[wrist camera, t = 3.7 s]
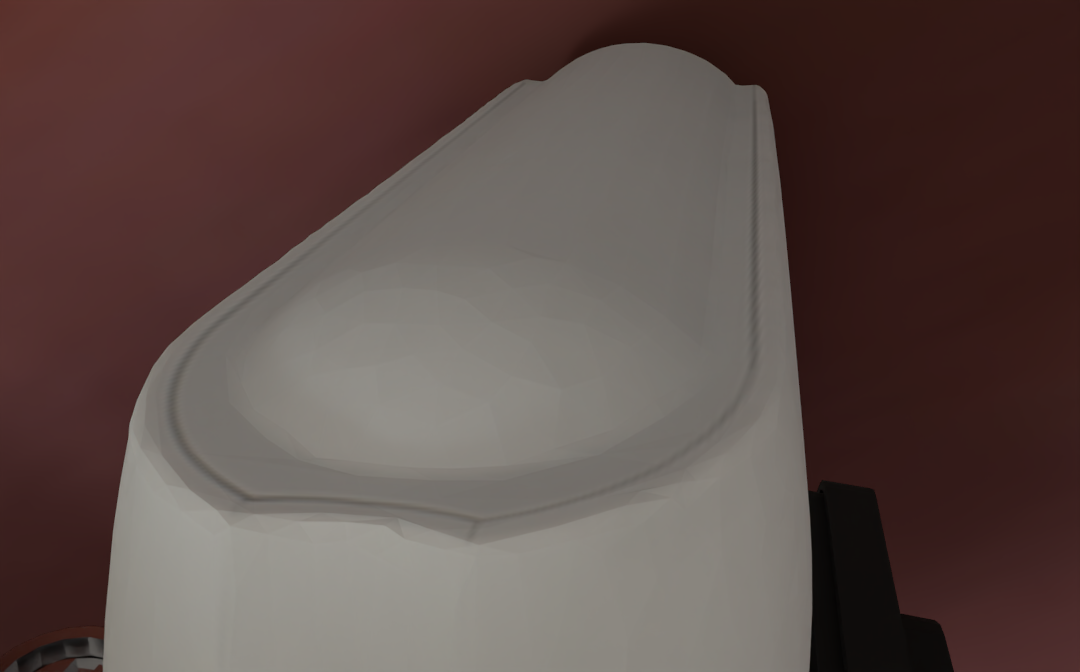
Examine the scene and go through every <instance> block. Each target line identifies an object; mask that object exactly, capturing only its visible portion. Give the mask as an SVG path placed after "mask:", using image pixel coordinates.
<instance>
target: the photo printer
mask: <svg viewBox="0 0 1080 672" xmlns="http://www.w3.org/2000/svg"><path fill="white" fill-rule="evenodd" d="M811 625H812V548H811V528H810V511H809V499H808V486H807V474H806V461H805V449H804V437H803V425H802V414H801V402H800V390H799V379H798V367H797V356H796V344H795V333H794V321H793V310H792V298H791V287H790V277H789V266H788V255H787V244H786V233H785V223H784V213H783V204H782V194H781V184H780V176H779V168H778V161H777V153H776V144H775V136H774V128H773V122H772V117H771V112H770V106H769V101H768V96H767V94H766V92H765V90H764V89H762V88H761V87H760V86H758V85H745V86H741V85H735V84H734V83H733V82H732V81H731V80H730V78H729V77H728V76H727V75H726V74H725V73H723V72H722V71H721V70H719V69H718V68H716V67H715V66H714V65H712V64H711V63H709V62H708V61H706V60H704V59H702V58H700V57H698V56H696V55H694V54H691V53H689V52H686V51H684V50H680V49H677V48H673V47H669V46H665V45H658V44H651V43H625V44H618V45H611V46H608V47H604V48H600V49H597V50H595V51H592V52H589V53H587V54H585V55H583V56H581V57H579V58H577V59H575V60H574V61H572V62H571V63H569V64H568V65H566V66H565V67H563V68H562V69H560V70H559V71H558V72H557V73H555V74H554V75H553V76H552V77H550V78H549V79H548V80H545V81H534V80H527V79H526V80H523V81H520V82H518V83H515V84H513V85H512V86H510V87H509V88H507V89H505V90H504V91H503V92H501V93H500V94H499V95H498V96H497V97H495V98H494V99H492V100H491V101H489V102H487V104H486V105H485V106H483V107H482V108H480V109H479V110H478V111H477V112H475V113H474V114H473V115H472V116H471V117H469V118H467V119H466V120H465V121H464V122H463V123H462V124H460V125H459V126H457V127H456V128H455V129H453V130H452V131H451V132H449V133H448V134H447V135H445V136H443V137H442V138H441V139H439V140H438V141H437V142H436V143H435V144H433V145H432V146H431V147H430V148H428V149H427V150H425V151H424V152H423V153H421V154H420V155H418V156H417V157H416V158H414V159H413V160H412V161H410V162H409V163H408V164H406V165H405V166H404V167H403V168H401V169H400V170H399V171H398V172H396V173H395V174H394V175H392V176H391V177H390V178H388V179H387V180H385V181H384V182H382V183H381V184H379V185H378V186H377V187H375V188H374V189H373V190H372V191H371V192H370V193H368V194H367V195H366V196H364V197H362V198H361V199H359V200H358V201H356V202H355V203H354V204H352V205H351V206H350V207H348V208H347V209H346V210H345V211H343V212H342V213H341V214H339V215H338V216H337V217H335V218H334V219H332V220H331V221H329V222H328V223H326V224H325V225H324V226H323V227H322V228H321V229H319V230H318V231H316V232H314V233H312V234H311V235H309V236H308V237H307V238H306V239H305V240H304V241H303V242H301V243H300V244H298V245H297V246H295V247H294V248H292V249H291V250H290V251H289V252H288V253H286V254H285V255H284V256H283V257H282V258H281V259H279V260H278V261H277V262H275V263H274V264H272V265H271V266H269V267H268V268H266V269H265V270H264V271H262V272H261V273H259V274H258V275H257V276H255V277H254V278H253V279H252V280H250V281H249V282H248V283H246V284H245V285H244V286H242V287H241V288H240V289H238V290H237V291H235V292H234V293H233V294H231V295H230V296H228V297H227V298H226V299H224V300H223V301H221V302H220V303H219V304H218V305H216V306H215V307H214V308H212V309H211V310H210V311H208V312H207V313H206V314H205V315H203V316H202V317H201V318H199V319H198V320H197V321H196V322H194V323H193V324H192V325H191V326H190V327H189V328H188V329H186V330H185V331H184V332H183V333H182V334H181V335H180V336H179V337H178V338H177V339H175V340H174V341H173V342H172V343H171V344H170V345H169V346H168V347H167V348H166V350H165V351H164V352H163V354H162V355H161V356H160V358H159V359H158V360H157V362H156V363H155V364H154V366H153V367H152V369H151V371H150V373H149V376H148V378H147V380H146V382H145V384H144V386H143V388H142V390H141V392H140V395H139V397H138V399H137V402H136V405H135V408H134V411H133V414H132V418H131V421H130V424H129V437H128V442H127V448H126V453H125V459H124V464H123V470H122V475H121V481H120V487H119V494H118V500H117V507H116V514H115V521H114V528H113V537H112V548H111V559H110V570H109V581H108V592H107V603H106V613H105V632H104V655H103V672H809V668H810V647H811Z"/></svg>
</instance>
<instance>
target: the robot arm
mask: <svg viewBox="0 0 1080 672" xmlns="http://www.w3.org/2000/svg"><path fill="white" fill-rule="evenodd" d="M808 499H809V511H810V528H811V548H812V625H811V647H810V668H809V672H954V670H953V666H952V663H951V659H950V655H949V651H948V647H947V644H946V640H945V636H944V633H943V631H942V628H941V626H940V624H939V623H938V622H936V621H935V620H931V619H926V618H920V617H915V616H910V615H905V614H900V610H899V606H898V601H897V596H896V591H895V586H894V581H893V577H892V572H891V567H890V562H889V557H888V553H887V548H886V543H885V538H884V533H883V528H882V524H881V519H880V514H879V509H878V504H877V500H876V495H875V492H874V490H873V489H870V488H864V487H859V486H853V485H847V484H841V483H836V482H830V481H824V480H822V482H821V483H820V485H819V488H818V491H817V492H813V491H808ZM104 632H105V627H99V626H84V627H70V628H65V629H61V630H57V631H53V632H50V633H46V634H42V635H40V636H38V637H35V638H33V639H31V640H29V641H27V642H24V643H22V644H20V645H18V646H16V647H15V648H13V649H12V650H10V651H9V652H7V653H6V654H5V655H3V656H2V657H0V672H103V655H104Z"/></svg>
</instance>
